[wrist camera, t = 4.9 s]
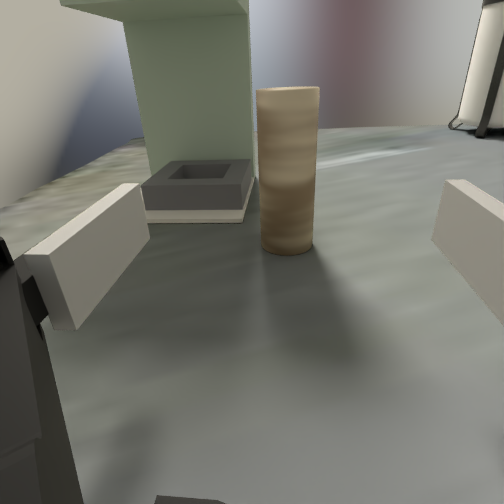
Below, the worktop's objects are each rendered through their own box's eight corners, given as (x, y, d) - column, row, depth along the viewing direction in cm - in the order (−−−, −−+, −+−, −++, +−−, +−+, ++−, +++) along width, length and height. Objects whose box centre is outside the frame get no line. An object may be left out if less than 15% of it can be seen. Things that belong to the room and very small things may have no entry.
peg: (322, 247, 26) (332, 87, 21) (276, 260, 24) (274, 92, 19) (295, 228, 29) (297, 86, 24) (252, 239, 28) (245, 89, 22)
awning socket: (242, 222, 31) (225, -42, 22) (105, 223, 32) (36, -27, 23) (255, 175, 44) (248, -2, 35) (157, 177, 45) (127, 7, 36)
